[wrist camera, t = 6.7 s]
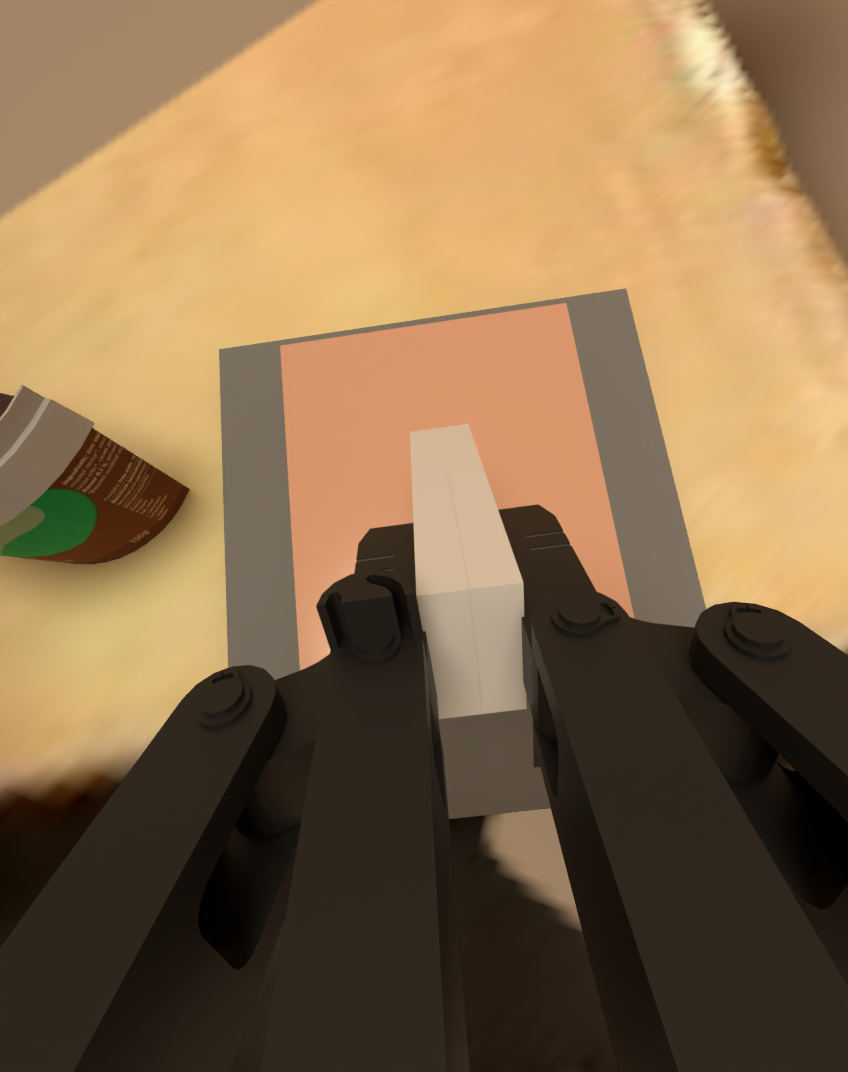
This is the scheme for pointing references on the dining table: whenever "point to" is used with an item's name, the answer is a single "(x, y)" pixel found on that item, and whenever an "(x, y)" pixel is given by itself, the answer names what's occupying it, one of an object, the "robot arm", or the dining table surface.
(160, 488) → the food container
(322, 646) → the tile
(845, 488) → the dining table surface
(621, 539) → the mat
